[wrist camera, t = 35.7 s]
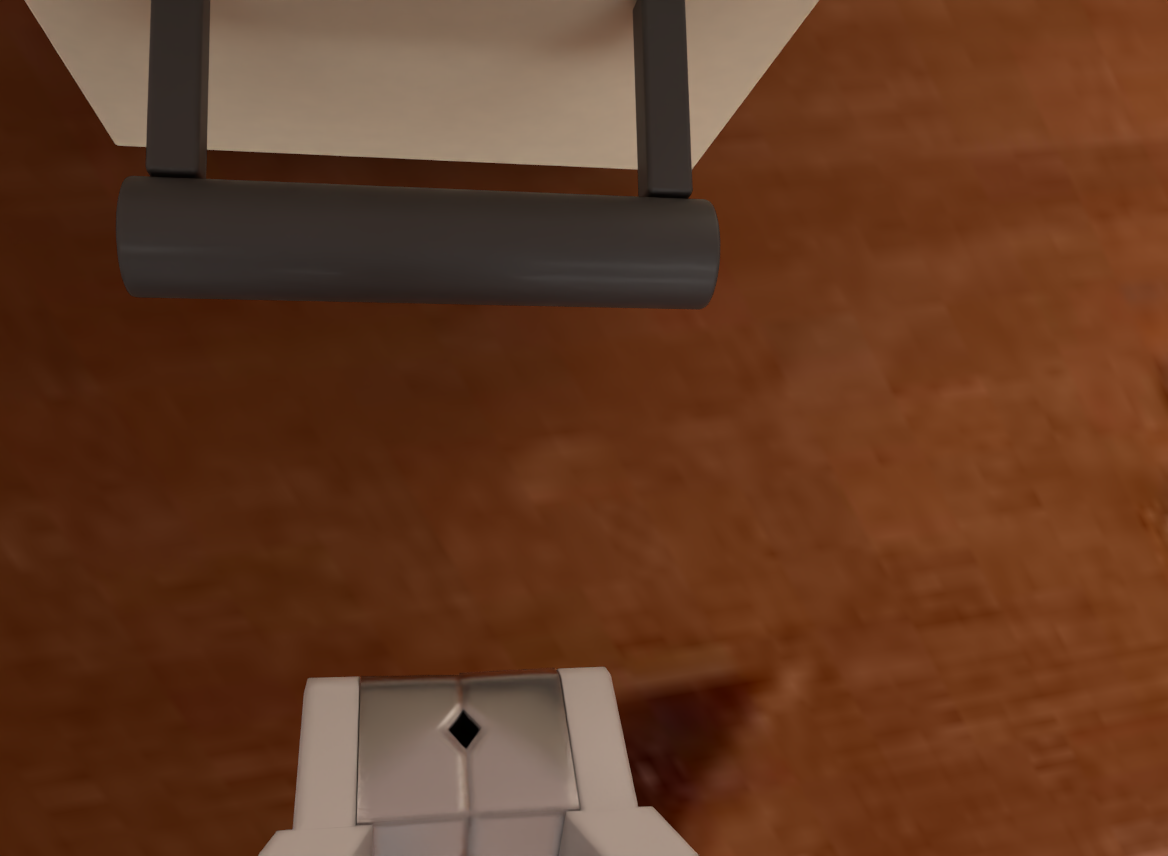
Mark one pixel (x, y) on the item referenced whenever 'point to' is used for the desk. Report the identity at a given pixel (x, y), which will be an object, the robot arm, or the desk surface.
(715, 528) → the desk surface
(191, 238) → the drawer
